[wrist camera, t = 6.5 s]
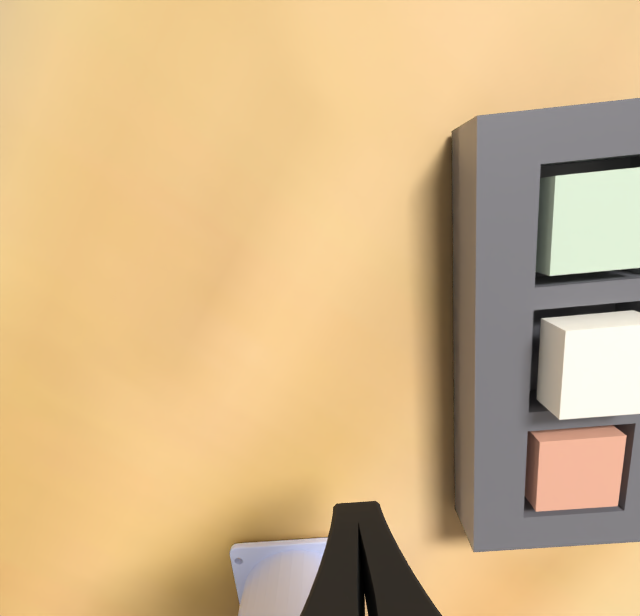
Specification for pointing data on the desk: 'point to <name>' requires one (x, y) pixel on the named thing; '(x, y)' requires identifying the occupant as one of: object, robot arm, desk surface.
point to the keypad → (527, 318)
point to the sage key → (589, 222)
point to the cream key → (590, 365)
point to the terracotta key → (574, 467)
